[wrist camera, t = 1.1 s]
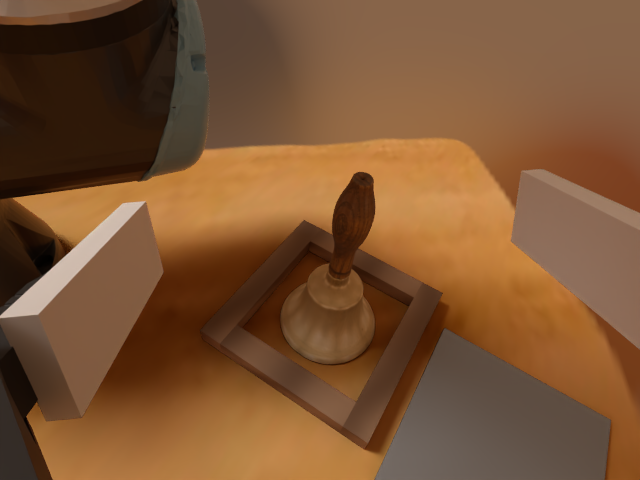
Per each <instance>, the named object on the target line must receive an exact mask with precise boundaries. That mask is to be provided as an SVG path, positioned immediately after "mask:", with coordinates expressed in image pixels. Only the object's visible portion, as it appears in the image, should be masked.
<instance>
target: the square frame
mask: <svg viewBox="0 0 640 480" xmlns="http://www.w3.org/2000/svg"><path fill="white" fill-rule="evenodd" d="M333 250H334V239H333V235H332V234H330V233H328V232H326V231H324V230H322V229H320V228H318V227H316V226H315V225H313V224H311V223H309V222H307V221H305V220H304V221H303V222H302V223H301V224H300V225H299V226H298V227H297V228H296V229H295V230H294V231H293V232H292V233H291V234H290V235H289V236H288V238H287V239H286V240H285V241H284V242H283V243H282V244H281V245H280V246H279V247H278V248H277V249H276V250H275V251H274V252H273V253H272V254H271V256H270V257H269V258H268V259H267V260H266V261H265V262H264V263H263V264H262V265H261V266H260V267H259V268H258V269H257V270H256V271H255V272H254V274H253V275H252V276H251V277H250V278H249V279H248V280H247V281H246V282H245V283H244V284H243V285H242V286H241V287H240V288H239V289H238V290H237V292H236V293H235V294H234V295H233V296H232V297H231V298H230V299H229V300H228V301H227V302H226V303H225V304H224V305H223V306H222V307H221V308H220V310H219V311H218V312H217V313H216V314H215V315H214V316H213V317H212V318H211V319H210V320H209V321H208V322H207V323H206V324H205V325H204V326H203V328H202V329H201V330H200V332H201V336H202V339H203V340H204V341H206V342H207V343H209V344H210V345H211V346H213V347H214V348H216V349H217V350H219V351H220V352H222V353H223V354H225V355H226V356H228V357H229V358H231V359H232V360H234V361H235V362H236V363H238V364H239V365H241V366H242V367H244V368H245V369H247V370H248V371H250V372H251V373H253V374H254V375H256V376H257V377H258V378H260V379H261V380H263V381H264V382H266V383H267V384H269V385H270V386H272V387H273V388H275V389H276V390H278V391H279V392H281V393H282V394H283V395H285V396H286V397H288V398H289V399H291V400H292V401H294V402H295V403H297V404H298V405H300V406H301V407H303V408H304V409H305V410H307V411H308V412H310V413H311V414H313V415H314V416H316V417H317V418H319V419H320V420H322V421H323V422H325V423H326V424H328V425H329V426H330V427H332V428H333V429H335V430H336V431H338V432H339V433H341V434H342V435H344V436H345V437H347V438H348V439H350V440H351V441H352V442H354V443H355V444H357V445H358V446H360V447H361V448H363V449H364V448H365V447H366V446H367V444H368V442H369V440H370V438H371V436H372V434H373V432H374V430H375V428H376V426H377V424H378V422H379V420H380V418H381V416H382V414H383V412H384V410H385V408H386V406H387V404H388V402H389V400H390V398H391V396H392V394H393V392H394V390H395V388H396V386H397V384H398V382H399V380H400V378H401V376H402V374H403V372H404V370H405V368H406V366H407V364H408V362H409V360H410V358H411V356H412V354H413V352H414V350H415V348H416V346H417V344H418V342H419V340H420V338H421V336H422V334H423V332H424V330H425V328H426V326H427V324H428V322H429V320H430V318H431V316H432V314H433V312H434V310H435V308H436V306H437V304H438V302H439V300H440V298H441V296H442V294H443V293H441V292H439V291H438V290H436V289H434V288H432V287H430V286H428V285H426V284H424V283H422V282H421V281H419V280H417V279H415V278H413V277H411V276H409V275H407V274H405V273H404V272H402V271H400V270H398V269H396V268H394V267H392V266H390V265H388V264H386V263H385V262H383V261H381V260H379V259H377V258H375V257H373V256H371V255H369V254H368V253H366V252H364V251H362V250H360V249H357V250H356V252H355V255H354V260H353V264H352V270H354V271H355V272H356V273H357V274H358V276H359V277H360V279H361V280H362V281H364V282H366V283H368V284H370V285H371V286H373V287H375V288H377V289H379V290H381V291H382V292H384V293H386V294H388V295H390V296H391V297H393V298H395V299H397V300H399V301H400V302H402V303H404V304H406V305H408V306H409V308H408V310H407V311H406V313H405V315H404V317H403V319H402V320H401V322H400V324H399V326H398V328H397V329H396V331H395V333H394V335H393V337H392V338H391V340H390V342H389V344H388V346H387V347H386V349H385V351H384V353H383V355H382V356H381V358H380V360H379V362H378V364H377V366H376V367H375V369H374V371H373V373H372V375H371V376H370V378H369V380H368V382H367V384H366V385H365V387H364V389H363V391H362V393H361V394H360V396H359V398H358V400H357V402H355V401H354V400H352V399H351V398H349V397H347V396H346V395H344V394H343V393H341V392H340V391H338V390H337V389H335V388H334V387H332V386H331V385H329V384H327V383H326V382H324V381H323V380H321V379H320V378H318V377H317V376H315V375H314V374H312V373H310V372H309V371H307V370H306V369H304V368H303V367H301V366H300V365H298V364H297V363H295V362H293V361H292V360H290V359H289V358H287V357H286V356H284V355H283V354H281V353H280V352H278V351H277V350H275V349H273V348H272V347H270V346H269V345H267V344H266V343H264V342H263V341H261V340H260V339H258V338H256V337H255V336H253V335H252V334H250V333H249V332H247V331H246V330H244V329H243V327H244V325H245V324H246V323H247V322H248V321H249V320H250V318H251V317H252V316H253V315H254V314H255V313H256V311H257V310H258V309H259V308H260V307H261V306H262V305H263V303H264V302H265V301H266V300H267V299H268V298H269V296H270V295H271V294H272V293H273V292H274V291H275V289H276V288H277V287H278V286H279V285H280V284H281V283H282V281H283V280H284V279H285V278H286V277H287V276H288V274H289V273H290V272H291V271H292V270H293V269H294V268H295V266H296V265H297V264H298V263H299V262H300V261H301V259H302V258H303V257H304V256H305V255H306V254H307V252H308V251H310V252H312V253H313V254H315V255H317V256H319V257H321V258H323V259H324V260H326V261H328V262H330V260H331V257H332V254H333Z"/></svg>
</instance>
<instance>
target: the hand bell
mask: <svg viewBox="0 0 640 480" xmlns="http://www.w3.org/2000/svg"><path fill="white" fill-rule="evenodd" d="M373 183H374V181H373V177H372V176H371V175H370V174H368V173H364V172H358V173H356V174H354V175H353V177H352V179H351V181H350V183H349V184H348V186H347V187H346V188H345V190H344V191H343V192H342V194H341V195H340V197H339V199H338V201H337V203H336V206H335V209H334V214H333V221H332V233H333V239H334V250H333V254H332V257H331V260H330V263H329V264H324V265H321V266H319V267H317V268H316V269H315V270H314V271H313V272H312V273H311V274H310V276H309V278H308V281H307V282H306V283H304V284H302V285H300V286H299V287H297V288H296V289H295V290H293V291H292V292H291V293H290V294H289V296H288V297H287V298H286V300H285V302H284V304H283V306H282V309H281V314H280V324H281V329H282V332H283V335H284V337H285V339H286V340H287V342H288V343H289V345H290V346H291V347H292V348H293V349H294V350H295V351H296V352H298V353H299V354H301V355H302V356H303V357H305V358H307V359H309V360H311V361H314V362H318V363H322V364H338V363H344V362H347V361H350V360H352V359H354V358H356V357H358V356H359V355H360V354H362V353H363V352H364V351H365V350H366V348H367V347H368V346H369V344H370V343H371V341H372V338H373V336H374V332H375V318H374V314H373V311H372V308H371V306H370V304H369V303H368V301H367V300H366V298H365V297H364V296H363V284H362V281H361V279H360V277H359V276H358V274H357V273H356V272H355V271H354V270H352V264H353V260H354V255H355V252H356V250H357V249H358V247H359V246H360V245H361V244H362V243H363V242H364V240H365V239H366V237H367V235H368V233H369V231H370V229H371V226H372V223H373V220H374V215H375V198H374V191H373Z"/></svg>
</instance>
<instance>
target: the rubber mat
mask: <svg viewBox="0 0 640 480" xmlns="http://www.w3.org/2000/svg"><path fill="white" fill-rule="evenodd" d="M610 425H611V420H610V419H608V418H607V417H605V416H603V415H601V414H599V413H597V412H596V411H594V410H592V409H590V408H588V407H587V406H585V405H583V404H581V403H579V402H578V401H576V400H574V399H572V398H570V397H569V396H567V395H565V394H563V393H561V392H559V391H558V390H556V389H554V388H552V387H550V386H549V385H547V384H545V383H543V382H541V381H540V380H538V379H536V378H534V377H532V376H531V375H529V374H527V373H525V372H523V371H522V370H520V369H518V368H516V367H514V366H512V365H511V364H509V363H507V362H505V361H503V360H502V359H500V358H498V357H496V356H494V355H493V354H491V353H489V352H487V351H485V350H484V349H482V348H480V347H478V346H476V345H474V344H473V343H471V342H469V341H467V340H465V339H464V338H462V337H460V336H458V335H456V334H455V333H453V332H451V331H449V330H447V329H446V328H444V330H443V332H442V334H441V336H440V338H439V340H438V343H437V345H436V347H435V349H434V351H433V354H432V356H431V358H430V360H429V362H428V364H427V367H426V369H425V371H424V373H423V375H422V377H421V380H420V382H419V384H418V386H417V388H416V391H415V393H414V395H413V397H412V399H411V401H410V404H409V406H408V408H407V410H406V412H405V414H404V417H403V419H402V421H401V423H400V425H399V428H398V430H397V432H396V434H395V436H394V438H393V441H392V443H391V445H390V447H389V449H388V451H387V454H386V456H385V458H384V460H383V462H382V465H381V467H380V469H379V471H378V473H377V475H376V478H375V480H605V472H606V463H607V454H608V444H609V435H610Z"/></svg>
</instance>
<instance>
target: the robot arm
mask: <svg viewBox="0 0 640 480" xmlns="http://www.w3.org/2000/svg"><path fill="white" fill-rule="evenodd" d="M205 63H206V49H205V37H204V31H203V25H202V20H201V15H200V11H199V8H198V4H197V2H196V0H0V480H53V479H52V477H51V474H50V472H49V470H48V467H47V465H46V462H45V460H44V457H43V455H42V452H41V450H40V447H39V445H38V442H37V440H36V437H35V435H34V432H33V430H32V427H31V426H30V424H29V422H28V420H27V418H26V416H27V414H28V413H29V412H30V410H31V409H32V407H33V406H34V405H35V403H36V402H37V403H38V405H39V407H40V409H41V411H42V413H43V415H44V417H45V419H46V421H55V420H64V419H74V418H82V416H83V415H84V413H85V411H86V409H87V408H88V406H89V404H90V402H91V400H92V399H93V397H94V395H95V393H96V392H97V390H98V388H99V386H100V384H101V383H102V381H103V379H104V377H105V376H106V374H107V372H108V370H109V368H110V367H111V365H112V363H113V361H114V360H115V358H116V356H117V354H118V352H119V351H120V349H121V347H122V345H123V344H124V342H125V340H126V338H127V336H128V335H129V333H130V331H131V329H132V328H133V326H134V324H135V322H136V321H137V319H138V317H139V315H140V313H141V312H142V310H143V308H144V306H145V305H146V303H147V301H148V299H149V297H150V296H151V294H152V292H153V290H154V289H155V287H156V285H157V283H158V281H159V280H160V278H161V276H162V274H163V273H164V271H163V267H162V263H161V259H160V255H159V251H158V247H157V243H156V239H155V235H154V231H153V227H152V224H151V220H150V216H149V212H148V208H147V204H146V201H144V202H132V203H123V204H122V205H121V206H119V207H118V208H117V209H116V210H115V211H114V212H113V213H112V214H111V215H110V216H109V217H107V218H106V219H105V220H104V221H103V222H102V223H101V224H100V225H99V226H98V227H97V228H95V229H94V230H93V231H92V232H91V233H90V234H89V235H88V236H87V237H86V238H84V239H83V240H82V241H81V242H80V243H79V244H78V245H77V246H76V247H75V248H74V249H72V250H71V251H70V252H69V253H68V254H67V255H66V252H65V250H64V248H63V246H62V245H61V243H60V241H59V239H58V238H57V236H56V234H55V233H54V231H53V230H52V229H51V228H50V227H49V226H48V225H47V224H46V223H45V222H44V221H43V220H41V219H40V218H39V217H37V216H36V215H35V214H33V213H32V212H30V211H29V210H28V209H26V208H25V207H24V206H22V205H21V204H19V203H18V202H17V201H15V200H14V199H13V198H14V197H22V196H29V195H36V194H44V193H51V192H58V191H66V190H73V189H80V188H88V187H95V186H102V185H110V184H117V183H124V182H132V181H138V182H140V181H146V180H148V179H150V178H152V177H154V176H159V175H163V174H168V173H173V172H178V171H182V170H185V169H187V168H189V167H191V166H192V165H194V164H195V163H196V162H197V161H198V159H199V158H200V156H201V155H202V152H203V150H204V147H205V143H206V138H207V132H208V119H209V81H208V74H207V71H206V68H205ZM511 242H512V243H514V244H515V245H516V246H517V247H518V248H520V249H521V250H522V251H523V252H524V253H526V254H527V255H528V256H529V257H530V258H531V259H533V260H534V261H535V262H536V263H537V264H539V265H540V266H541V267H542V268H543V269H545V270H546V271H547V272H548V273H549V274H551V275H552V276H553V277H554V278H555V279H556V280H558V281H559V282H560V283H561V284H562V285H564V286H565V287H566V288H567V289H568V290H570V291H571V292H572V293H573V294H574V295H576V296H577V297H578V298H579V299H580V300H581V301H583V302H584V303H585V304H586V305H587V306H589V307H590V308H591V309H592V310H593V311H595V312H596V313H597V314H598V315H599V316H601V317H602V318H603V319H604V320H605V321H607V322H608V323H609V324H610V325H611V326H612V327H614V328H615V329H616V330H617V331H618V332H620V333H621V334H622V335H623V336H624V337H626V338H627V339H628V340H629V341H630V342H632V343H633V344H634V345H635V346H636V347H637V348H639V349H640V213H638V212H636V211H634V210H632V209H629V208H627V207H625V206H623V205H620V204H618V203H616V202H614V201H612V200H610V199H607V198H605V197H603V196H601V195H598V194H596V193H594V192H592V191H590V190H587V189H585V188H583V187H581V186H579V185H576V184H574V183H572V182H570V181H567V180H565V179H563V178H561V177H559V176H556V175H554V174H552V173H550V172H547V171H545V170H543V169H537V170H527V171H526V170H525V171H521V177H520V184H519V190H518V197H517V204H516V211H515V217H514V224H513V231H512V237H511Z"/></svg>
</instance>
